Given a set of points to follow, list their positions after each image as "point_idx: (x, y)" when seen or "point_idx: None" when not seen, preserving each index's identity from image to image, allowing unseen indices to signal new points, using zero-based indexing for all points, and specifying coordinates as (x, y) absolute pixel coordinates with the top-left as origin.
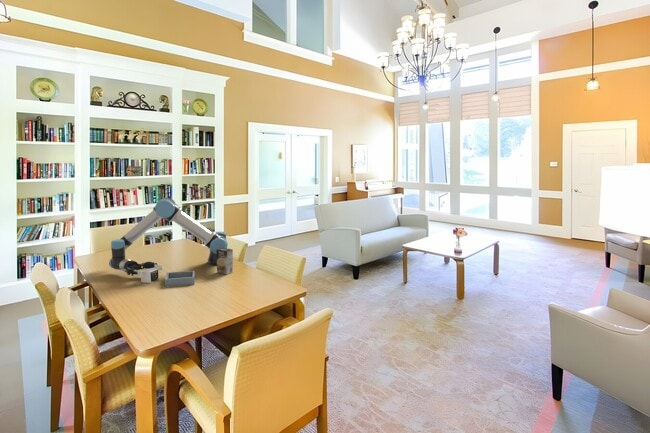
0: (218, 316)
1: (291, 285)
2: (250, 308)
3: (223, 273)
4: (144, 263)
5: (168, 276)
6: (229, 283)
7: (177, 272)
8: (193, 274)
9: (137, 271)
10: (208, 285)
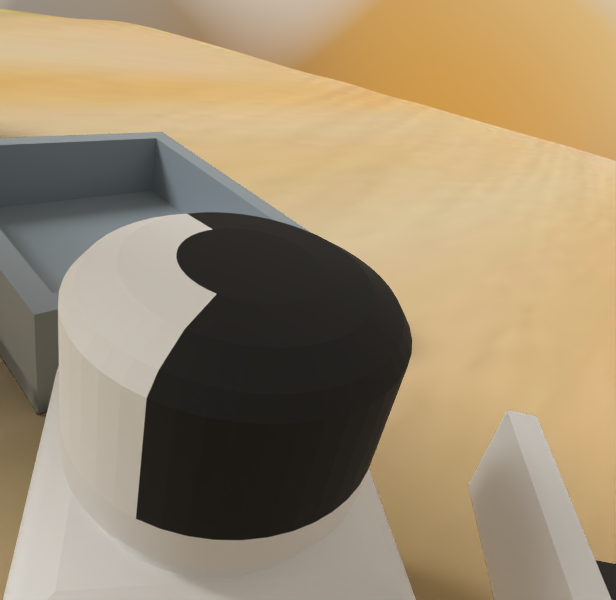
0: (450, 122)
1: (65, 21)
2: (343, 86)
3: None
4: (390, 340)
5: None
6: (79, 102)
7: (2, 232)
8: (75, 138)
9: (574, 545)
10: None
